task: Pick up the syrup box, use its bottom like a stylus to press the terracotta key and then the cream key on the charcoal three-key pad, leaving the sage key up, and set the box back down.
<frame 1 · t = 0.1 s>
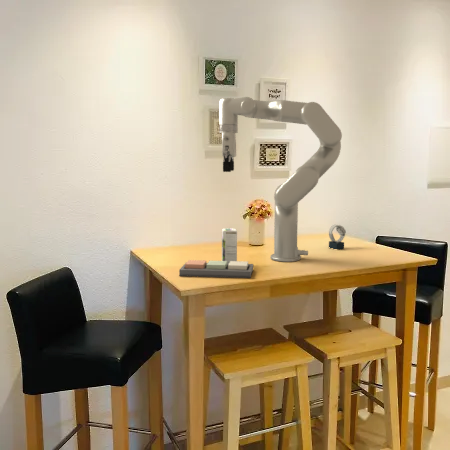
hand: (228, 171, 206), 37 cm above the table, tool pointing down, fingers open, 9 cm apart
keypad board: (217, 273, 185), on the table
sage key: (217, 264, 185), point 3 cm above the table, slide at 0.0 cm
cream key: (238, 265, 184), point 3 cm above the table, slide at 0.0 cm
syrup box: (229, 265, 198), on the table
watch: (336, 248, 229), on the table
terracotta key: (195, 264, 186), point 3 cm above the table, slide at 0.0 cm
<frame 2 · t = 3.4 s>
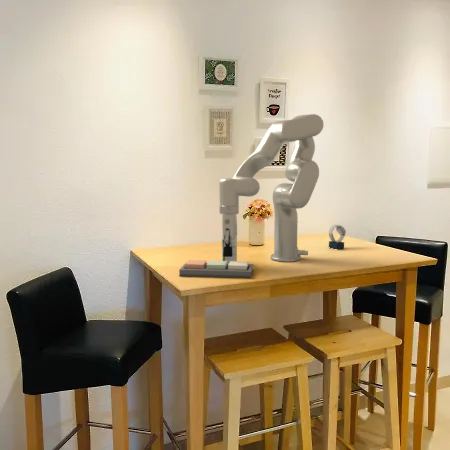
hand: (229, 254, 197), 4 cm above the table, tool pointing down, fingers closed on syrup box, 6 cm apart
syrup box: (229, 265, 198), on the table, touching gripper
everything else where it was.
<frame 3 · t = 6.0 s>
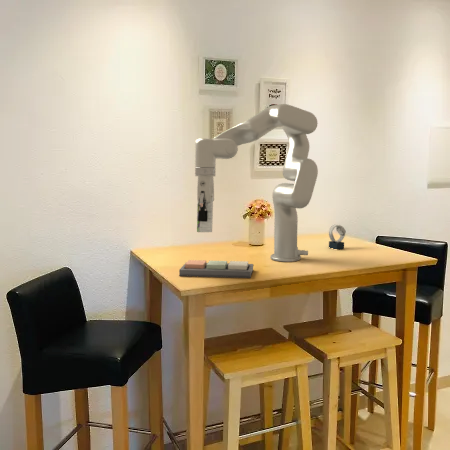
hand: (204, 219, 187), 20 cm above the table, tool pointing down, fingers closed on syrup box, 6 cm apart
syrup box: (204, 231, 187), point 15 cm above the table, touching gripper
everything else where it was.
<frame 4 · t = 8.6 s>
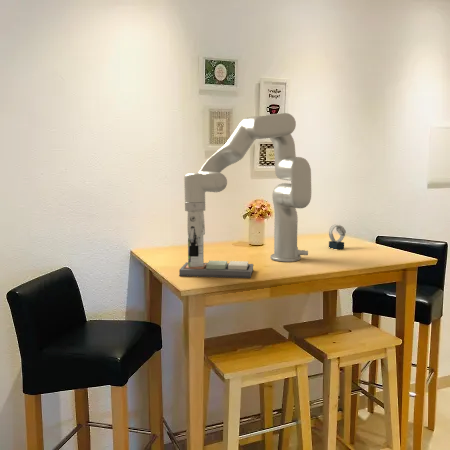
hand: (196, 253, 185), 7 cm above the table, tool pointing down, fingers closed on syrup box, 6 cm apart
syrup box: (196, 265, 186), point 2 cm above the table, touching gripper, terracotta key
terracotta key: (195, 267, 186), point 2 cm above the table, slide at 1.2 cm, touching syrup box
everything else where it was.
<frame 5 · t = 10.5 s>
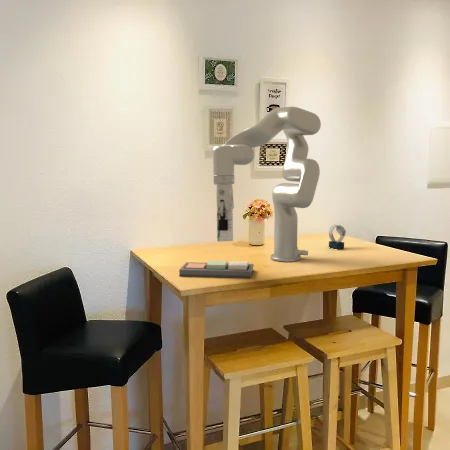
hand: (225, 228, 183), 17 cm above the table, tool pointing down, fingers closed on syrup box, 6 cm apart
syrup box: (225, 240, 183), point 12 cm above the table, touching gripper
terracotta key: (195, 267, 186), point 2 cm above the table, slide at 1.2 cm
everything else where it was.
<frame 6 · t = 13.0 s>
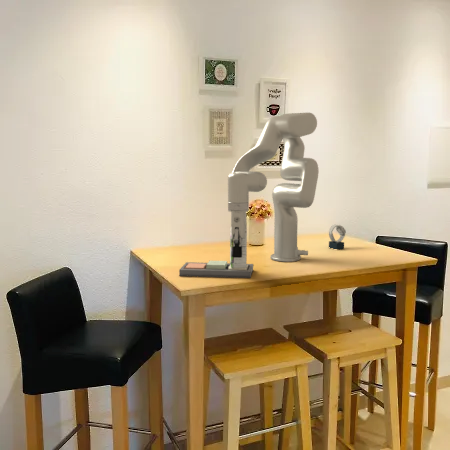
hand: (238, 254, 183), 7 cm above the table, tool pointing down, fingers closed on syrup box, 6 cm apart
cream key: (238, 268, 184), point 2 cm above the table, slide at 1.2 cm
syrup box: (238, 266, 184), point 3 cm above the table, touching gripper
everything else where it was.
when the fingers open (6 cm above the table, at t = 17.9 s): syrup box drops 1 cm, on the table.
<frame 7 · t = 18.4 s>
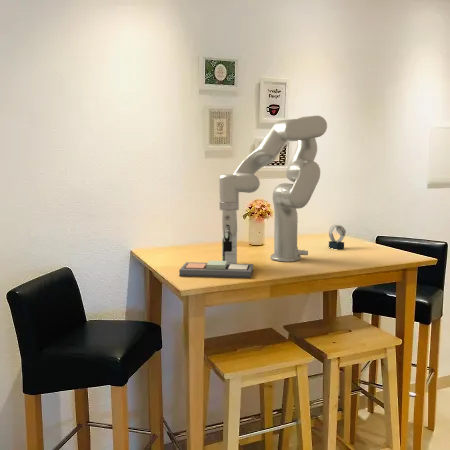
hand: (229, 248, 197), 7 cm above the table, tool pointing down, fingers open, 9 cm apart
syrup box: (229, 265, 198), on the table
everything else where it was.
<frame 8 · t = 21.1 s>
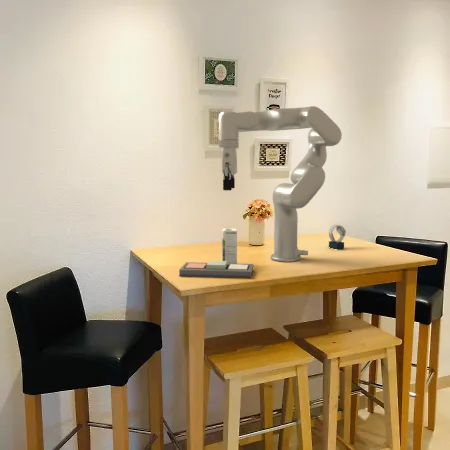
hand: (229, 189, 193), 30 cm above the table, tool pointing down, fingers open, 9 cm apart
nothing on the table moved.
at the end: terracotta key slide at 1.2 cm; cream key slide at 1.2 cm; sage key slide at 0.0 cm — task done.
